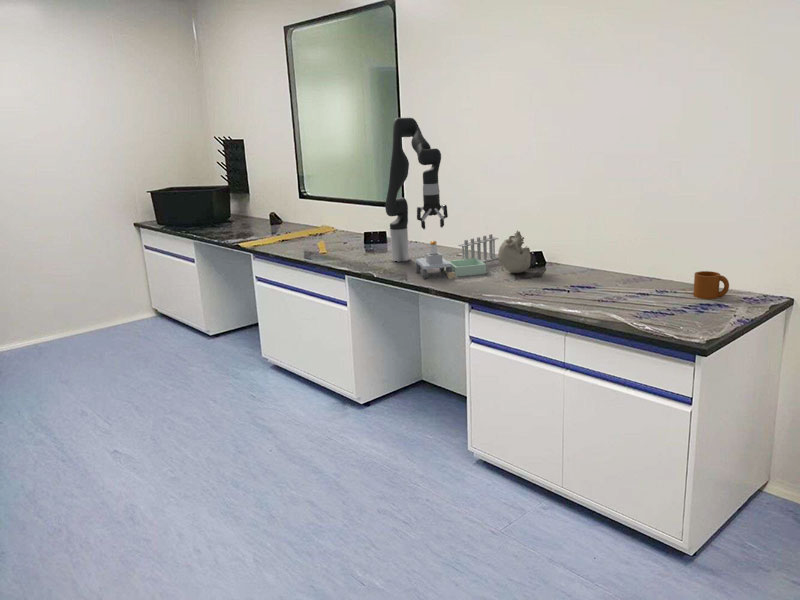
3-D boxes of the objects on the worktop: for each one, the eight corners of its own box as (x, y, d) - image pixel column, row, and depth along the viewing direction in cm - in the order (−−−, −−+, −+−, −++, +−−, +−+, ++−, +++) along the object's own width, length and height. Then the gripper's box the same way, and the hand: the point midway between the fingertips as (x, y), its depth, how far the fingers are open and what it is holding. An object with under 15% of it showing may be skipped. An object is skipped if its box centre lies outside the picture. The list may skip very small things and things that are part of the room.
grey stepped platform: (415, 271, 308) (414, 250, 305) (443, 268, 310) (442, 247, 307) (425, 281, 288) (424, 259, 286) (455, 277, 291) (454, 255, 288)
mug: (723, 301, 234) (725, 278, 231) (690, 297, 241) (691, 275, 239) (730, 295, 240) (732, 273, 237) (697, 291, 248) (698, 269, 245)
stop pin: (430, 262, 297) (429, 241, 294) (436, 261, 297) (435, 240, 295) (432, 263, 294) (431, 242, 291) (437, 262, 295) (437, 241, 292)
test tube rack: (464, 267, 310) (463, 241, 306) (458, 266, 313) (457, 240, 309) (499, 258, 324) (498, 233, 321) (492, 257, 328) (492, 232, 324)
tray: (447, 269, 307) (446, 261, 306) (475, 266, 310) (475, 257, 309) (455, 276, 293) (455, 267, 292) (486, 273, 296) (486, 264, 295)
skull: (530, 276, 286) (530, 233, 281) (497, 276, 290) (497, 233, 284) (530, 269, 298) (530, 228, 293) (499, 269, 301) (498, 228, 296)
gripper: (443, 191, 292) (445, 225, 296) (414, 193, 289) (416, 228, 294) (448, 192, 285) (449, 228, 289) (418, 195, 282) (420, 230, 286)
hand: (432, 228), depth 291 cm, fingers open, 8 cm apart
